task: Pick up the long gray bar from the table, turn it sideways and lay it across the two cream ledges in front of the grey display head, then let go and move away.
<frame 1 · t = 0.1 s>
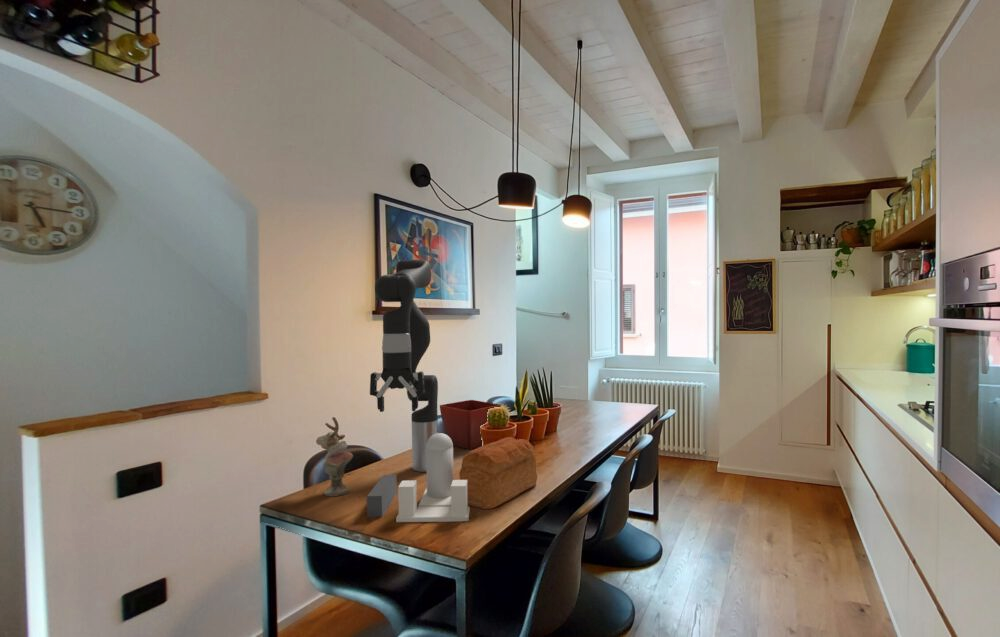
hand: (397, 411, 132), 29 cm above the table, tool pointing down, fingers open, 8 cm apart
display stand: (433, 516, 134), on the table
decorative bust: (334, 491, 155), on the table
plant pot: (470, 445, 209), on the table
bread: (499, 493, 152), on the table
gray bar: (383, 505, 143), on the table
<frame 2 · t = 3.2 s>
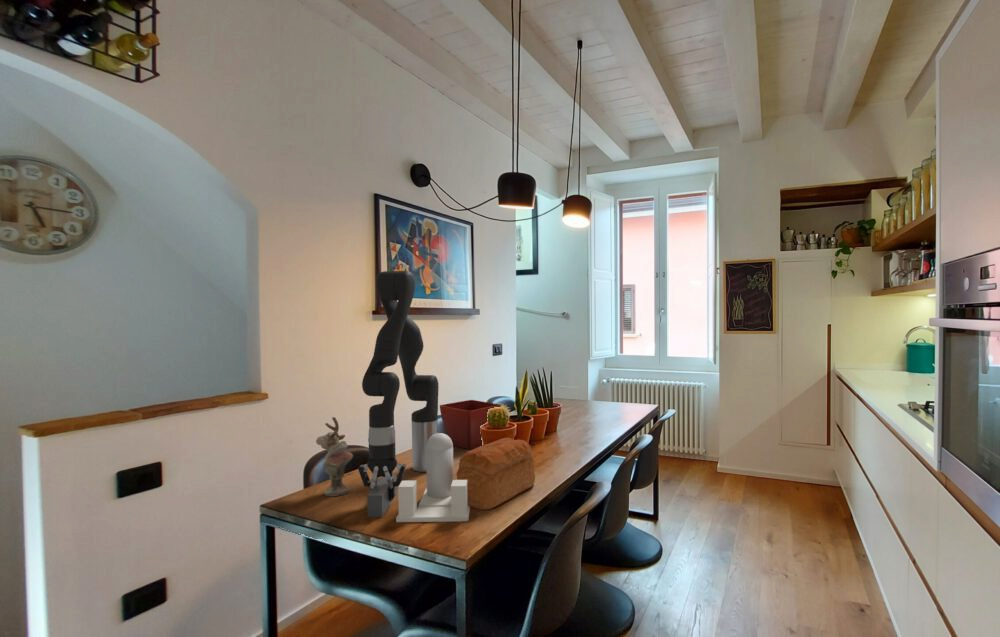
hand: (382, 500, 143), 1 cm above the table, tool pointing down, fingers closed on gray bar, 4 cm apart
gray bar: (383, 504, 143), on the table, touching gripper
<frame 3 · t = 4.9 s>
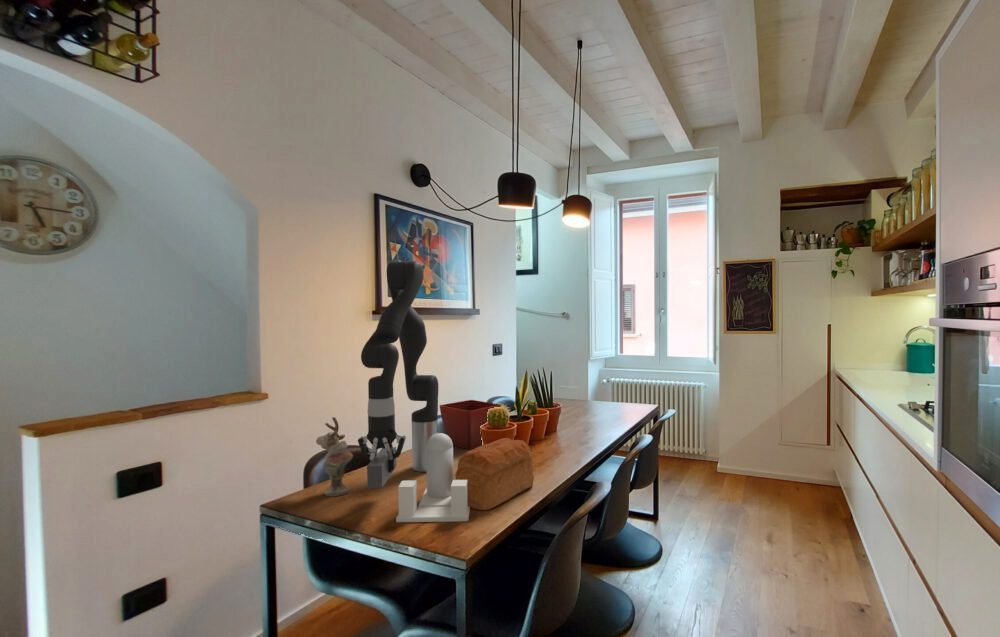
hand: (382, 471, 143), 9 cm above the table, tool pointing down, fingers closed on gray bar, 4 cm apart
gray bar: (382, 476, 143), point 8 cm above the table, touching gripper
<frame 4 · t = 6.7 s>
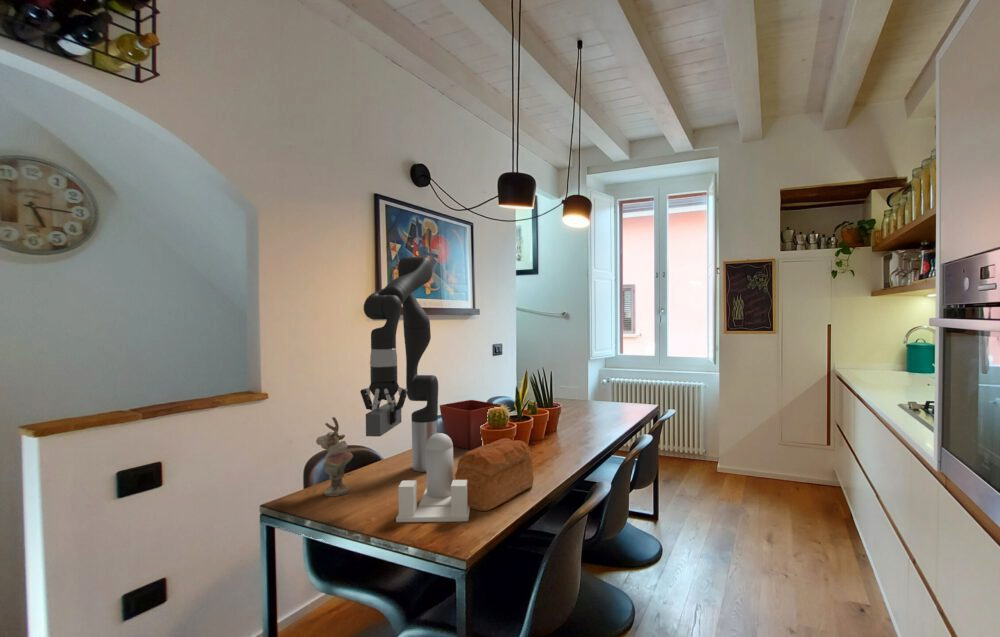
hand: (384, 423, 142), 24 cm above the table, tool pointing down, fingers closed on gray bar, 4 cm apart
gray bar: (384, 428, 142), point 22 cm above the table, touching gripper
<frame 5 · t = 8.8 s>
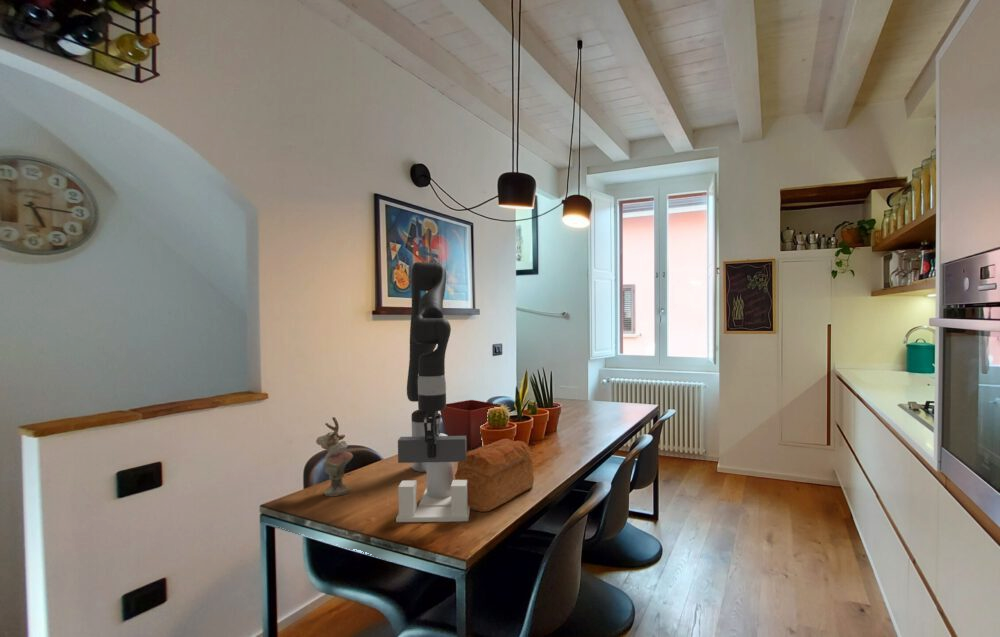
hand: (433, 454, 134), 17 cm above the table, tool pointing down, fingers closed on gray bar, 4 cm apart
gray bar: (432, 460, 134), point 15 cm above the table, touching gripper
when the fingers open (12 cm above the table, at t = 10.5 s): gray bar drops 1 cm, resting on display stand.
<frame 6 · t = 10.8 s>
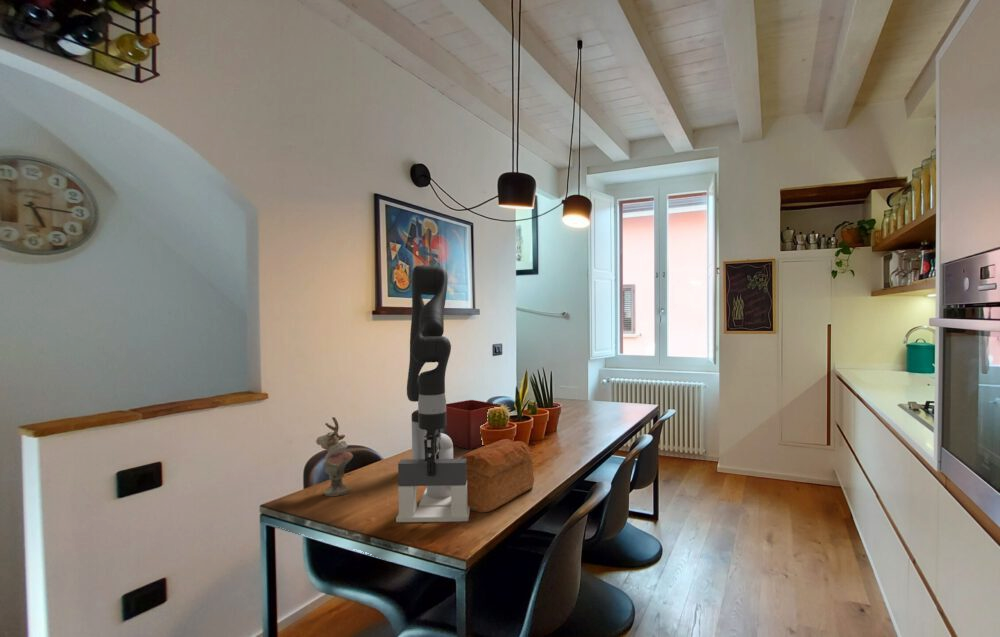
hand: (433, 471, 134), 12 cm above the table, tool pointing down, fingers open, 6 cm apart
gray bar: (433, 483, 134), point 9 cm above the table, touching display stand
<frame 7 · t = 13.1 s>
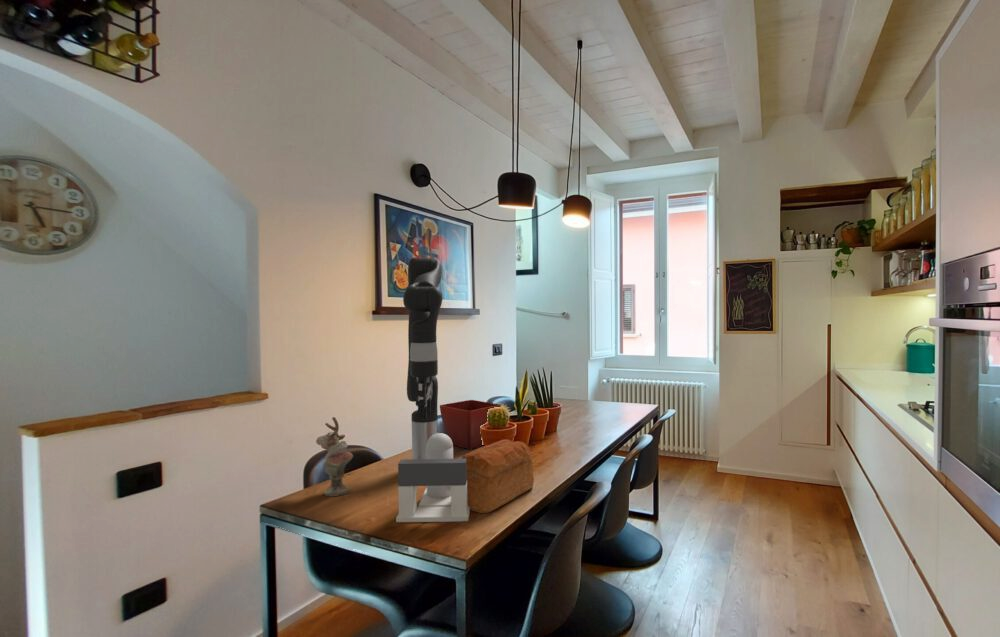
hand: (424, 416, 137), 26 cm above the table, tool pointing down, fingers open, 8 cm apart
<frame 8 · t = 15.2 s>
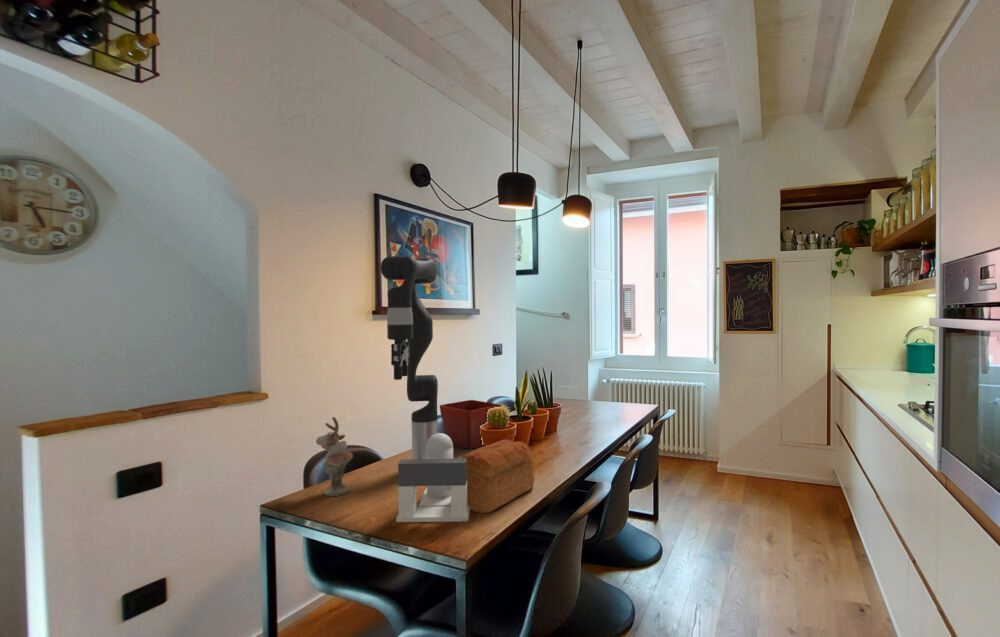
hand: (401, 377, 147), 36 cm above the table, tool pointing down, fingers open, 8 cm apart
at the end: gray bar 0.1 cm off-centre on the display stand, point 9.0 cm above the display stand's base; gray bar tilted 0°; the gripper is holding nothing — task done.
